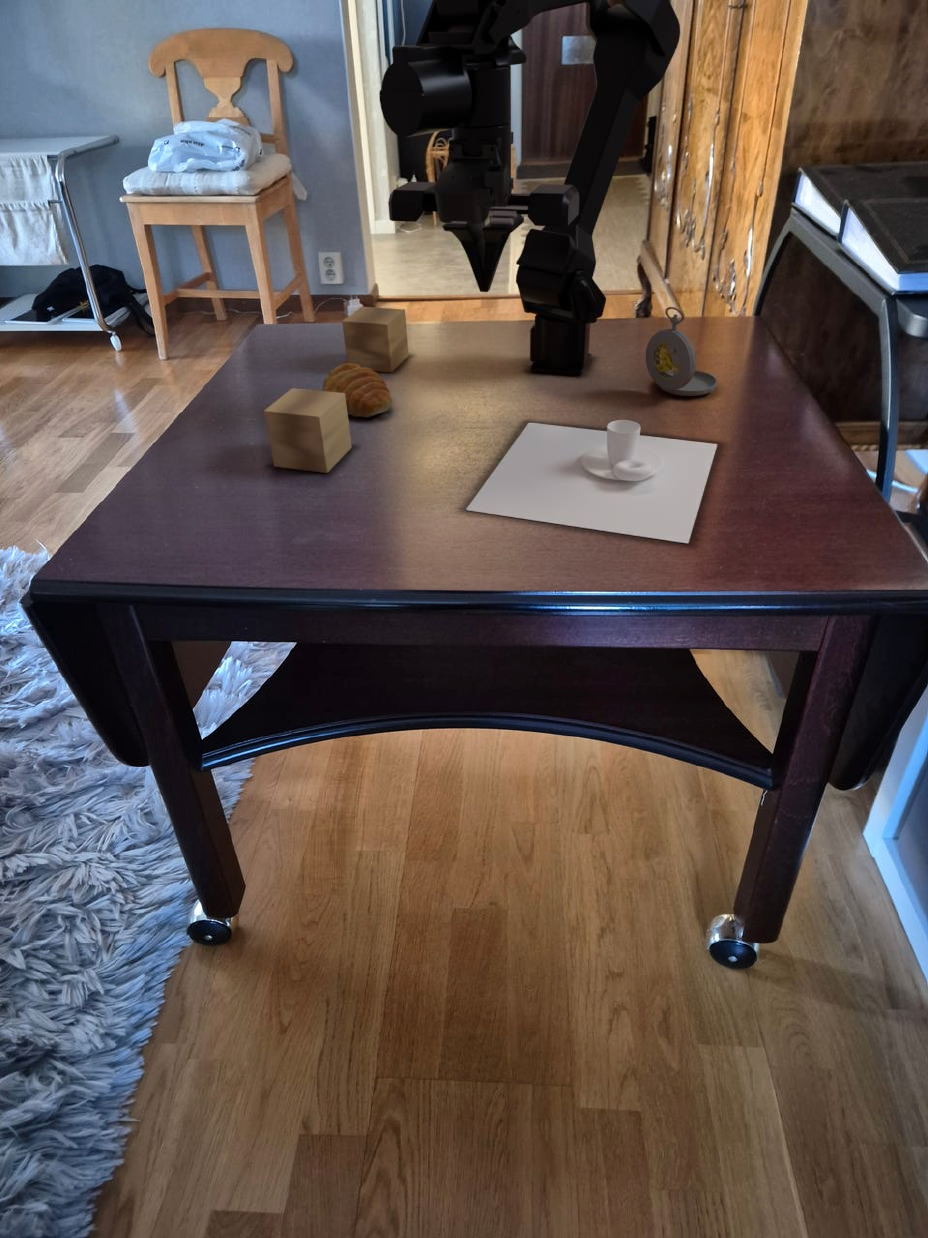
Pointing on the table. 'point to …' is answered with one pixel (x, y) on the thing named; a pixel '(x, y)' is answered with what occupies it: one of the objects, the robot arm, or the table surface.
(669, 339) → the pocket watch
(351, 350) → the block
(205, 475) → the table surface
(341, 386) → the pastry
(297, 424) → the block
